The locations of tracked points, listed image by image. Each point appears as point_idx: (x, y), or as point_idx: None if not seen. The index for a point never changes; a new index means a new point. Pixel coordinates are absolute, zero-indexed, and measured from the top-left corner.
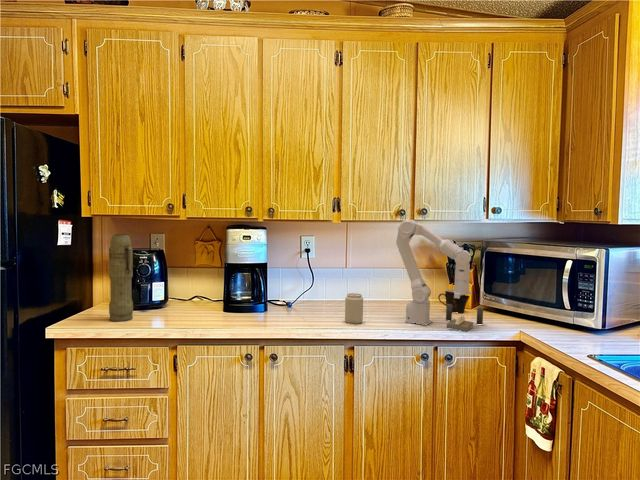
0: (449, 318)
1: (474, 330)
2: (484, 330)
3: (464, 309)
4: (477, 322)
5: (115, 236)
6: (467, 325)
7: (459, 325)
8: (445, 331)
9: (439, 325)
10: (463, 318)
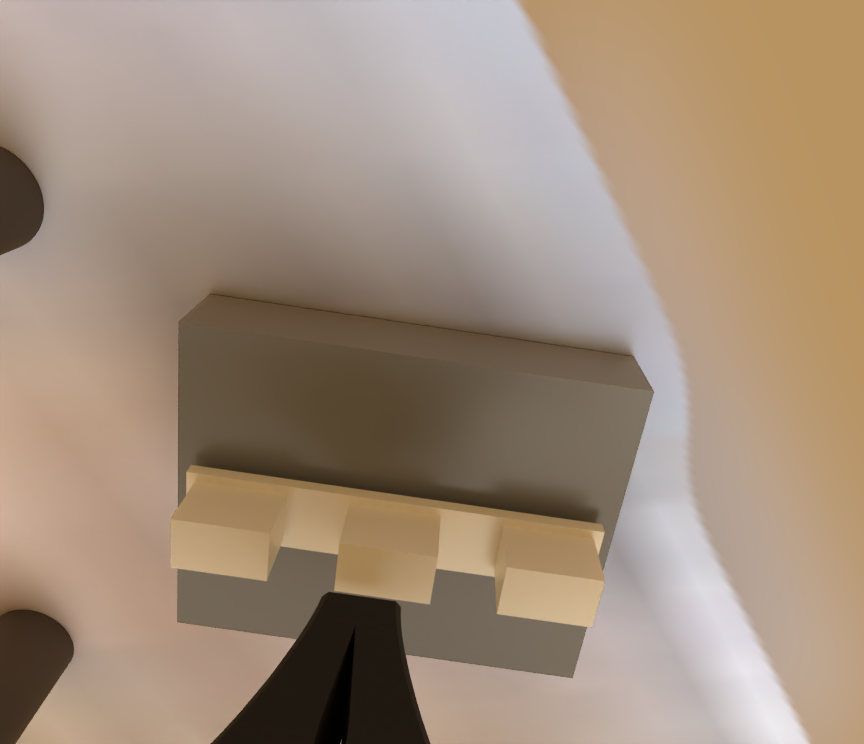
0: (48, 659)
1: (460, 246)
2: (364, 72)
3: (321, 645)
4: (9, 243)
5: None
6: (531, 391)
7: (598, 509)
8: (727, 617)
9: (420, 708)
10: (262, 511)
